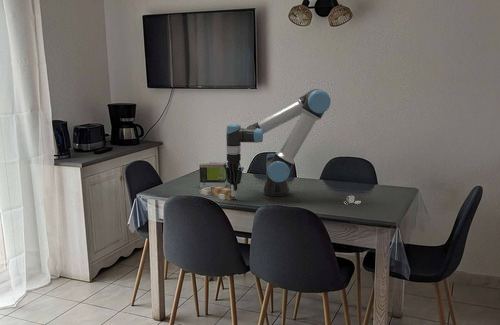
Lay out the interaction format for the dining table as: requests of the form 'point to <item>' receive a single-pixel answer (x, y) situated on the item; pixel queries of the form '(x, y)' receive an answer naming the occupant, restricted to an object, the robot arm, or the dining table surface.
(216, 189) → the tan wooden bar
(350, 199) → the teacup and saucer
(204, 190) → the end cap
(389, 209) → the dining table surface
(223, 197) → the guide cap
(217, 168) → the tea box
